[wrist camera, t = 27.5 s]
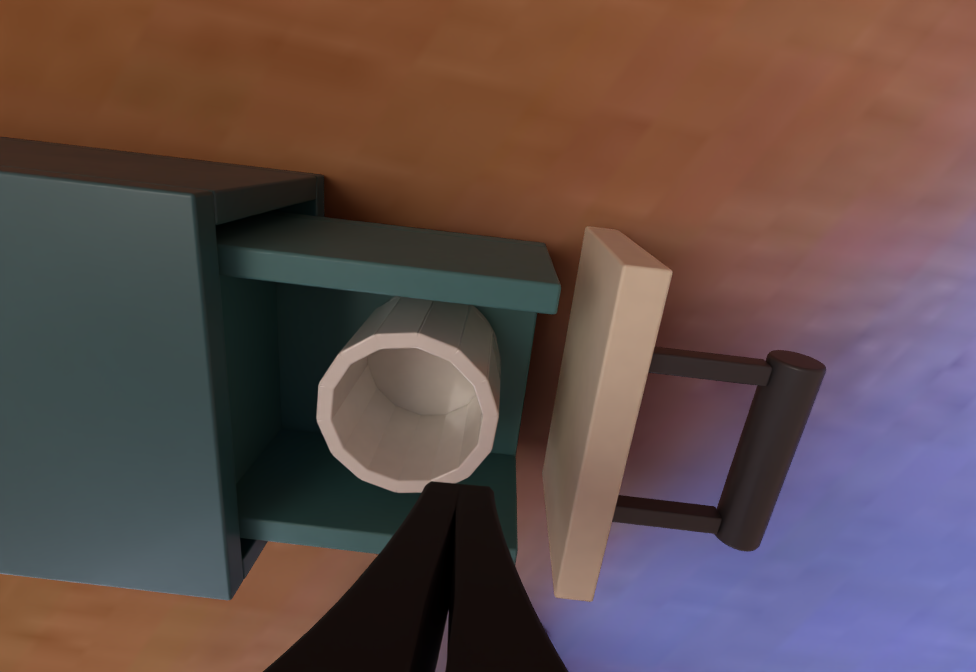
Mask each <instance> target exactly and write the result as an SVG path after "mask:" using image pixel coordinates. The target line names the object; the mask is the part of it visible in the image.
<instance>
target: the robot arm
mask: <svg viewBox="0 0 976 672" xmlns="http://www.w3.org/2000/svg"><path fill="white" fill-rule="evenodd" d="M263 672H568V670H567V668H566V667H565V665H564V663H563V662H562V660H561V658H560V657H559V655H558V653H557V651H556V650H555V648H554V646H553V644H552V642H551V641H550V639H549V637H548V635H547V633H546V632H545V630H544V628H543V626H542V624H541V622H540V620H539V618H538V616H537V614H536V612H535V610H534V608H533V606H532V604H531V602H530V599H529V597H528V595H527V593H526V591H525V589H524V586H523V584H522V582H521V579H520V577H519V575H518V572H517V570H516V567H515V565H514V562H513V559H512V557H511V554H510V551H509V549H508V546H507V543H506V540H505V537H504V534H503V531H502V528H501V524H500V521H499V517H498V513H497V509H496V504H495V497H494V491H493V490H492V489H491V488H490V487H489V486H478V485H467V484H456V483H445V482H434V481H431V482H429V483H428V484H427V485H425V487H424V489H423V491H422V493H421V495H420V496H419V498H418V500H417V501H416V503H415V505H414V506H413V508H412V509H411V511H410V512H409V514H408V515H407V517H406V518H405V520H404V521H403V523H402V524H401V526H400V527H399V528H398V530H397V531H396V532H395V534H394V535H393V536H392V538H391V539H390V540H389V542H388V543H387V544H386V546H385V547H384V548H383V550H382V551H381V552H380V554H379V555H378V556H377V557H376V558H375V560H374V561H373V562H372V563H371V564H370V566H369V567H368V568H367V569H366V570H365V571H364V573H363V574H362V575H361V576H360V577H359V579H358V580H357V581H356V582H355V583H354V584H353V586H352V587H351V588H350V589H349V590H348V591H347V592H346V593H345V594H344V595H343V596H342V598H341V599H340V600H339V601H338V602H337V603H336V604H335V605H334V606H333V607H332V608H331V609H330V610H329V611H328V612H327V613H326V614H325V615H324V616H323V617H322V618H321V619H320V620H319V621H318V622H317V623H316V624H315V625H314V626H313V627H312V628H311V629H310V630H309V631H308V632H307V633H306V634H304V635H303V636H302V637H301V638H300V639H299V640H298V641H297V642H296V643H295V644H294V645H292V646H291V647H290V648H289V649H288V650H287V651H286V652H285V653H284V654H283V655H282V656H280V657H279V658H278V659H277V660H276V661H275V662H274V663H272V664H271V665H270V666H269V667H268V668H267V669H266V670H264V671H263Z"/></svg>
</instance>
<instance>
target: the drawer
mask: <svg viewBox="0 0 976 672" xmlns="http://www.w3.org/2000/svg"><path fill="white" fill-rule="evenodd" d="M215 227H216V240H217V253H218V265H219V278H220V291H221V303H222V316H223V329H224V341H225V354H226V367H227V379H228V392H229V405H230V417H231V430H232V443H233V455H234V468H235V480H236V493H237V506H238V518H239V531H240V538H246V539H255V540H263V541H272V542H281V543H289V544H298V545H306V546H315V547H323V548H332V549H340V550H349V551H357V552H366V553H374V554H380V552H381V551H382V550H383V548H384V547H385V546H386V544H387V543H388V542H389V540H390V539H391V538H392V536H393V535H394V534H395V532H396V531H397V530H398V528H399V527H400V526H401V524H402V523H403V521H404V520H405V518H406V517H407V515H408V514H409V512H410V511H411V509H412V508H413V506H414V505H415V503H416V501H417V500H418V498H419V496H420V495H421V493H397V492H393V491H390V490H387V489H384V488H382V487H379V486H376V485H373V484H371V483H368V482H365V481H362V480H361V479H359V478H358V477H357V476H355V475H354V474H353V473H352V472H351V471H350V470H349V469H348V468H346V467H345V466H344V465H343V464H342V463H341V462H340V461H339V460H337V459H336V458H335V457H334V456H333V455H332V453H331V452H330V450H329V448H328V445H327V443H326V441H325V439H324V436H323V434H322V432H321V430H320V428H319V425H318V423H317V419H316V415H317V398H318V385H319V382H320V380H321V379H322V377H323V376H324V374H325V373H326V371H327V370H328V368H329V367H330V365H331V364H332V362H333V361H334V359H335V358H336V356H337V355H338V353H339V352H340V351H341V350H342V348H343V347H344V346H345V345H346V344H347V342H348V341H349V340H350V339H351V338H352V336H353V335H354V334H355V333H356V332H357V330H358V329H359V328H360V327H361V326H362V324H363V323H364V322H365V321H366V320H367V318H368V317H369V316H370V315H371V314H372V312H373V311H374V310H376V308H378V307H380V306H381V305H382V304H383V303H385V302H386V301H388V300H389V299H391V298H393V297H395V296H399V297H408V298H416V299H425V300H433V301H442V302H450V303H459V304H467V305H473V306H474V307H476V308H477V309H478V310H479V311H480V312H481V313H482V314H483V315H484V317H485V318H486V319H487V321H488V322H489V323H490V325H491V327H492V329H493V330H494V333H495V335H496V338H497V341H498V345H499V352H500V357H501V379H500V404H499V419H498V424H497V429H496V434H495V438H494V443H493V448H492V450H491V452H490V453H489V454H488V455H487V457H486V458H485V459H484V460H483V461H482V463H481V464H480V465H479V466H478V467H477V468H476V470H475V471H474V472H473V473H472V474H471V475H470V476H469V477H468V478H466V479H464V480H462V481H460V482H457V483H456V484H467V485H478V486H489V487H490V488H491V489H492V490H493V491H494V497H495V504H496V509H497V513H498V517H499V521H500V524H501V528H502V531H503V534H504V537H505V540H506V543H507V546H508V549H509V551H510V554H511V557H512V559H513V562H514V565H515V563H516V557H517V551H518V546H517V495H516V450H517V443H518V437H519V430H520V424H521V417H522V411H523V404H524V397H525V391H526V384H527V378H528V371H529V365H530V358H531V351H532V345H533V338H534V332H535V325H536V318H537V313H544V314H552V315H553V314H556V313H557V310H558V304H559V298H560V292H561V285H560V282H559V279H558V277H557V274H556V271H555V269H554V266H553V263H552V260H551V258H550V255H549V252H548V250H547V247H546V244H545V243H540V242H532V241H523V240H515V239H506V238H498V237H489V236H481V235H472V234H464V233H455V232H447V231H438V230H430V229H421V228H413V227H404V226H396V225H387V224H379V223H370V222H362V221H353V220H345V219H336V218H328V217H319V216H311V215H302V214H294V213H285V212H277V211H269V212H265V213H261V214H257V215H253V216H250V217H246V218H242V219H238V220H234V221H231V222H227V223H223V224H219V225H215ZM672 274H673V273H672V270H671V269H669V268H668V267H667V266H665V265H664V264H663V263H661V262H660V261H659V260H657V259H656V258H655V257H653V256H652V255H651V254H649V253H648V252H647V251H645V250H644V249H643V248H641V247H640V246H639V245H637V244H636V243H635V242H633V241H632V240H631V239H629V238H628V237H627V236H625V235H624V234H623V233H622V232H620V231H619V230H615V229H607V228H598V227H590V226H588V227H586V228H585V233H584V239H583V244H582V250H581V256H580V261H579V267H578V273H577V278H576V284H575V290H574V295H573V301H572V307H571V312H570V318H569V324H568V330H567V335H566V341H565V347H564V352H563V358H562V364H561V369H560V375H559V381H558V386H557V392H556V398H555V403H554V409H553V415H552V420H551V426H550V432H549V437H548V443H547V449H546V454H545V460H544V466H543V471H542V477H543V487H544V497H545V507H546V517H547V527H548V537H549V547H550V557H551V567H552V577H553V587H554V595H555V597H556V598H564V599H572V600H581V601H589V602H591V601H593V597H594V593H595V589H596V585H597V581H598V577H599V573H600V569H601V565H602V560H603V556H604V552H605V548H606V544H607V540H608V536H609V532H610V528H611V524H612V522H619V523H627V524H636V525H644V526H653V527H661V528H670V529H678V530H687V531H695V532H704V533H713V534H715V536H716V537H717V538H718V539H719V540H720V541H722V542H723V543H724V544H726V545H728V546H730V547H732V548H734V549H737V550H741V551H753V550H755V549H757V548H758V547H759V546H760V543H761V541H762V538H763V535H764V533H765V530H766V528H767V525H768V522H769V520H770V517H771V514H772V512H773V509H774V506H775V504H776V501H777V499H778V496H779V493H780V491H781V488H782V485H783V483H784V480H785V478H786V475H787V472H788V470H789V467H790V464H791V462H792V459H793V456H794V454H795V451H796V449H797V446H798V443H799V441H800V438H801V435H802V433H803V430H804V428H805V425H806V422H807V420H808V417H809V414H810V412H811V409H812V406H813V404H814V401H815V399H816V396H817V393H818V391H819V388H820V385H821V383H822V380H823V377H824V375H825V372H826V367H825V365H824V364H822V363H821V362H819V361H818V360H816V359H814V358H811V357H809V356H806V355H803V354H800V353H796V352H791V351H784V350H774V351H771V352H769V354H768V355H767V358H766V361H765V360H763V359H756V358H747V357H739V356H730V355H722V354H713V353H705V352H696V351H688V350H679V349H671V348H662V347H655V343H656V339H657V335H658V331H659V327H660V323H661V319H662V315H663V311H664V306H665V302H666V298H667V294H668V290H669V286H670V282H671V278H672ZM648 373H657V374H665V375H674V376H682V377H691V378H699V379H708V380H716V381H725V382H733V383H742V384H750V385H757V388H756V391H755V394H754V397H753V400H752V403H751V406H750V409H749V413H748V416H747V419H746V422H745V425H744V428H743V431H742V434H741V437H740V440H739V443H738V446H737V449H736V452H735V455H734V458H733V461H732V464H731V467H730V470H729V473H728V476H727V479H726V482H725V485H724V488H723V491H722V494H721V497H720V500H719V503H718V506H717V509H716V507H714V506H707V505H699V504H690V503H681V502H673V501H664V500H656V499H647V498H639V497H630V496H622V495H619V491H620V487H621V483H622V479H623V474H624V470H625V466H626V462H627V458H628V454H629V450H630V446H631V442H632V438H633V433H634V429H635V425H636V421H637V417H638V413H639V409H640V405H641V401H642V397H643V392H644V388H645V384H646V380H647V376H648Z"/></svg>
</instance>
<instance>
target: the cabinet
mask: <svg viewBox="0 0 976 672" xmlns="http://www.w3.org/2000/svg"><path fill="white" fill-rule="evenodd" d="M269 211H277V212H285V213H294V214H302V215H311V216H319V217H324V175H321V174H313V173H304V172H296V171H287V170H279V169H270V168H262V167H253V166H245V165H236V164H228V163H219V162H211V161H202V160H194V159H185V158H177V157H168V156H160V155H151V154H143V153H134V152H126V151H117V150H109V149H100V148H92V147H83V146H75V145H66V144H58V143H49V142H41V141H32V140H24V139H15V138H7V137H0V574H8V575H17V576H25V577H34V578H42V579H51V580H60V581H68V582H77V583H85V584H94V585H102V586H111V587H119V588H128V589H137V590H145V591H154V592H162V593H171V594H179V595H188V596H196V597H205V598H213V599H222V600H231V599H232V598H233V596H234V595H235V593H236V591H237V590H238V588H239V586H240V585H241V583H242V581H243V579H245V577H246V576H247V574H248V573H249V571H250V569H251V568H252V566H253V564H254V563H255V561H256V560H257V558H258V556H259V555H260V553H261V551H262V550H263V548H264V547H265V545H266V543H267V542H268V541H263V540H255V539H246V538H240V531H239V518H238V506H237V493H236V480H235V468H234V455H233V443H232V430H231V417H230V405H229V392H228V379H227V367H226V354H225V341H224V329H223V316H222V303H221V291H220V278H219V265H218V253H217V240H216V227H215V225H219V224H223V223H227V222H231V221H234V220H238V219H242V218H246V217H250V216H253V215H257V214H261V213H265V212H269Z"/></svg>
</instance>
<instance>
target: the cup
mask: <svg viewBox="0 0 976 672" xmlns="http://www.w3.org/2000/svg"><path fill="white" fill-rule="evenodd" d="M500 379H501V357H500V352H499V345H498V341H497V338H496V335H495V333H494V330H493V329H492V327H491V325H490V323H489V322H488V321H487V319H486V318H485V317H484V315H483V314H482V313H481V312H480V311H479V310H478V309H477V308H476V307H474V306H473V305H467V304H459V303H450V302H442V301H433V300H425V299H416V298H408V297H399V296H395V297H393V298H391V299H389V300H388V301H386V302H385V303H383V304H382V305H381V306H380V307H378V308H376V310H374V311H373V312H372V314H371V315H370V316H369V317H368V318H367V320H366V321H365V322H364V323H363V324H362V326H361V327H360V328H359V329H358V330H357V332H356V333H355V334H354V335H353V336H352V338H351V339H350V340H349V341H348V342H347V344H346V345H345V346H344V347H343V348H342V350H341V351H340V352H339V353H338V355H337V356H336V358H335V359H334V361H333V362H332V364H331V365H330V367H329V368H328V370H327V371H326V373H325V374H324V376H323V377H322V379H321V380H320V382H319V385H318V398H317V415H316V419H317V423H318V425H319V428H320V430H321V432H322V434H323V436H324V439H325V441H326V443H327V445H328V448H329V450H330V452H331V453H332V455H333V456H334V457H335V458H336V459H337V460H339V461H340V462H341V463H342V464H343V465H344V466H345V467H346V468H348V469H349V470H350V471H351V472H352V473H353V474H354V475H355V476H357V477H358V478H359V479H361V480H362V481H365V482H368V483H371V484H373V485H376V486H379V487H382V488H384V489H387V490H390V491H393V492H397V493H422V491H423V489H424V487H425V485H427V484H428V483H429V482H431V481H434V482H445V483H457V482H460V481H462V480H464V479H466V478H468V477H469V476H470V475H471V474H472V473H473V472H474V471H475V470H476V468H477V467H478V466H479V465H480V464H481V463H482V461H483V460H484V459H485V458H486V457H487V455H488V454H489V453H490V452H491V450H492V448H493V443H494V438H495V434H496V429H497V424H498V419H499V404H500Z"/></svg>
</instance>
